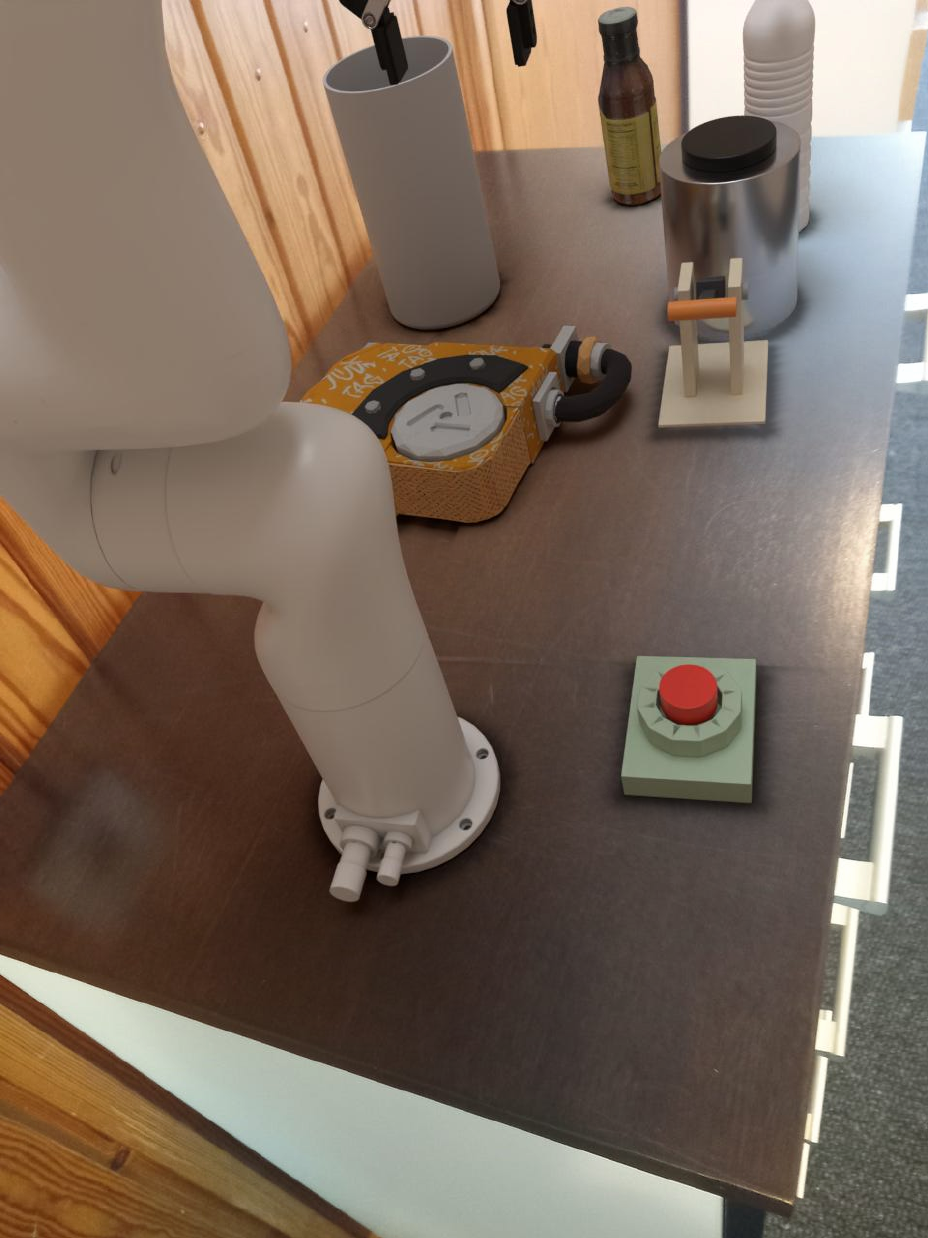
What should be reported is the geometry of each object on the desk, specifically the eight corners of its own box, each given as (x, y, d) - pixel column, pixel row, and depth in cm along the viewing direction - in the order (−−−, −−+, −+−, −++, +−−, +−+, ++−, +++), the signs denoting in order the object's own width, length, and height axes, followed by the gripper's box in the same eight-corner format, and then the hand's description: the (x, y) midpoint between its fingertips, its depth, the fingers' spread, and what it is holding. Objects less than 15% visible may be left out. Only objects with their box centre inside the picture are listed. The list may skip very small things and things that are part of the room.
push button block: (751, 803, 65) (751, 767, 62) (624, 795, 67) (618, 760, 64) (756, 679, 71) (755, 641, 68) (639, 675, 73) (634, 638, 71)
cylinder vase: (472, 337, 108) (414, 90, 90) (371, 329, 113) (298, 95, 96) (519, 272, 115) (474, 31, 97) (422, 268, 120) (362, 39, 102)
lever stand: (765, 432, 88) (765, 310, 80) (659, 435, 91) (648, 318, 82) (768, 350, 96) (768, 231, 87) (670, 356, 98) (661, 241, 90)
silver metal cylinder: (796, 342, 96) (801, 160, 83) (665, 350, 99) (651, 176, 87) (797, 263, 105) (801, 87, 92) (676, 272, 108) (665, 104, 96)
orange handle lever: (736, 324, 76) (736, 291, 76) (667, 329, 78) (666, 296, 77) (742, 303, 87) (742, 274, 86) (682, 308, 89) (681, 279, 88)
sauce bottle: (637, 177, 124) (620, -4, 110) (676, 188, 120) (664, 2, 106) (598, 201, 122) (576, 20, 108) (636, 214, 118) (619, 27, 104)
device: (349, 297, 102) (640, 308, 90) (372, 367, 108) (648, 387, 96) (230, 441, 90) (550, 477, 77) (263, 511, 96) (566, 556, 83)
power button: (716, 726, 65) (715, 709, 64) (658, 724, 66) (656, 707, 65) (719, 681, 67) (718, 664, 66) (663, 679, 68) (661, 663, 67)
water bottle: (744, 214, 113) (740, -43, 95) (806, 205, 112) (814, -57, 94) (747, 254, 108) (744, -10, 90) (813, 246, 106) (823, -25, 88)
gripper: (258, -175, 64) (339, 105, 77) (528, -239, 59) (568, 72, 72) (295, -204, 69) (365, 64, 81) (547, -265, 64) (582, 31, 76)
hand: (460, 68), depth 77 cm, fingers open, 9 cm apart
